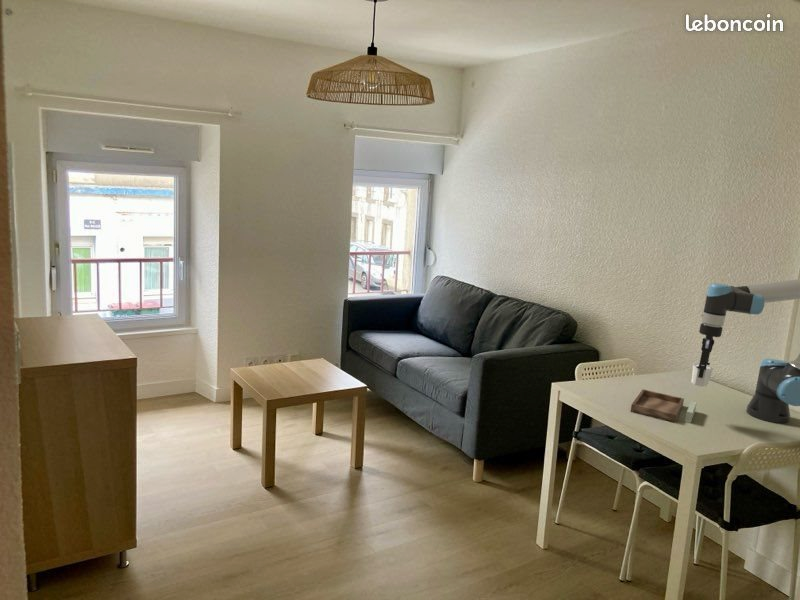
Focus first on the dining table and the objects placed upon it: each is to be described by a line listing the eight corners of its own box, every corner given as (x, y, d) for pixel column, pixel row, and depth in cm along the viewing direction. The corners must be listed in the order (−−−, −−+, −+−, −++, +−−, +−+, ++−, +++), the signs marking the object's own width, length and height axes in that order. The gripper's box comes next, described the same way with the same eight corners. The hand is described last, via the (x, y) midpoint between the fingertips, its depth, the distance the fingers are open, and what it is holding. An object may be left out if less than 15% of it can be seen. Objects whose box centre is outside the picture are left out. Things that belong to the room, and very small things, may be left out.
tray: (682, 405, 260) (684, 398, 259) (674, 422, 239) (676, 414, 239) (641, 396, 267) (642, 389, 267) (630, 411, 247) (631, 404, 246)
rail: (695, 411, 254) (696, 401, 253) (690, 423, 240) (692, 412, 239) (689, 410, 255) (691, 400, 254) (684, 421, 241) (686, 411, 240)
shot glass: (711, 388, 241) (715, 370, 240) (691, 385, 242) (695, 367, 241) (706, 382, 248) (710, 365, 246) (687, 379, 249) (691, 362, 247)
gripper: (703, 318, 251) (691, 375, 255) (698, 326, 234) (686, 386, 238) (724, 322, 247) (711, 379, 252) (721, 330, 230) (708, 391, 235)
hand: (699, 383), depth 245 cm, fingers closed on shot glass, 7 cm apart
